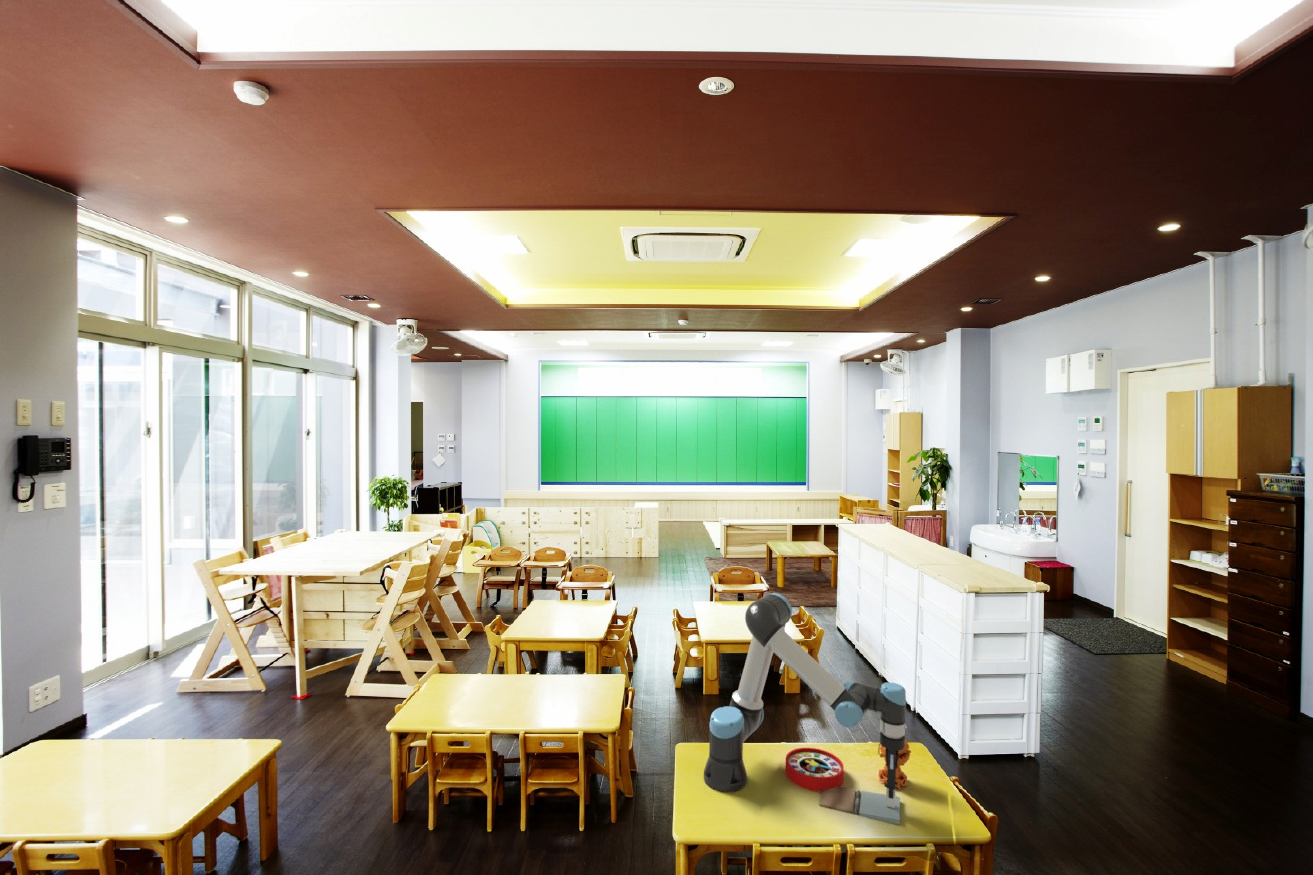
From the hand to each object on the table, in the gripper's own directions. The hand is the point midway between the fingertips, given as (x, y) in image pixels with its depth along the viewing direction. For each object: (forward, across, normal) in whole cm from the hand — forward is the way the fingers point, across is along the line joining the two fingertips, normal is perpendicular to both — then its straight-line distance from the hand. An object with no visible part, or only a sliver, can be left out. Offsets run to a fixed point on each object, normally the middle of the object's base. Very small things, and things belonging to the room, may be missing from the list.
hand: (890, 805), depth 201 cm
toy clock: (+3, +11, +26) cm, 28 cm away
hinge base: (+2, 0, +16) cm, 16 cm away
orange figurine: (+3, +18, -1) cm, 18 cm away
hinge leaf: (+2, 0, +4) cm, 4 cm away
